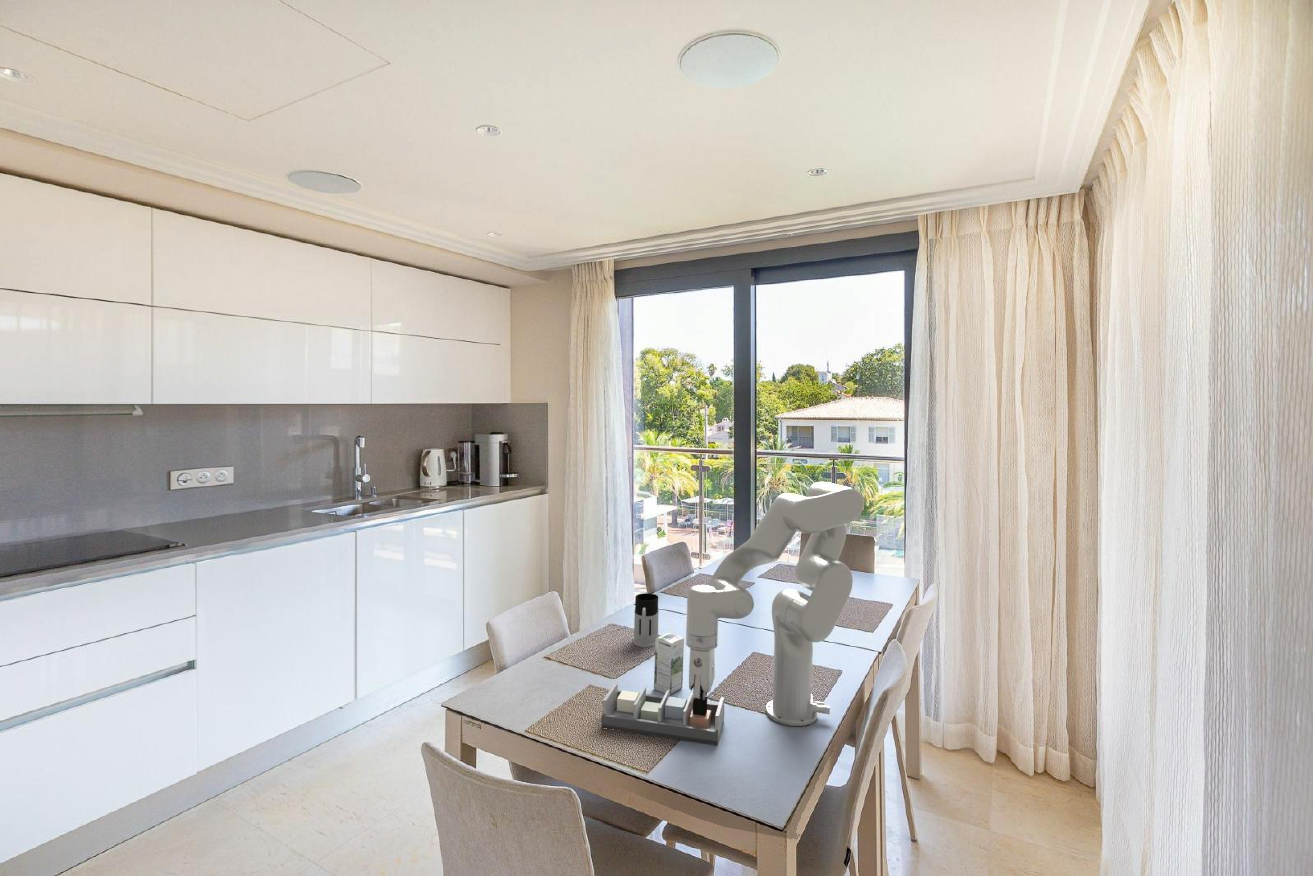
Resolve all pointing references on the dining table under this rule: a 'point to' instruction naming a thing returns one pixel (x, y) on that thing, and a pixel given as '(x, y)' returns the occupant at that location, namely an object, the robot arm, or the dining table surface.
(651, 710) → the key sage
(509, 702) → the dining table surface
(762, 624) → the dining table surface
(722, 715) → the slotted cube rack
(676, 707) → the pale blue block
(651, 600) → the glass holder
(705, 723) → the light orange square block
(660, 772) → the dining table surface
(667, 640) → the syrup box
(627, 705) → the cream block
